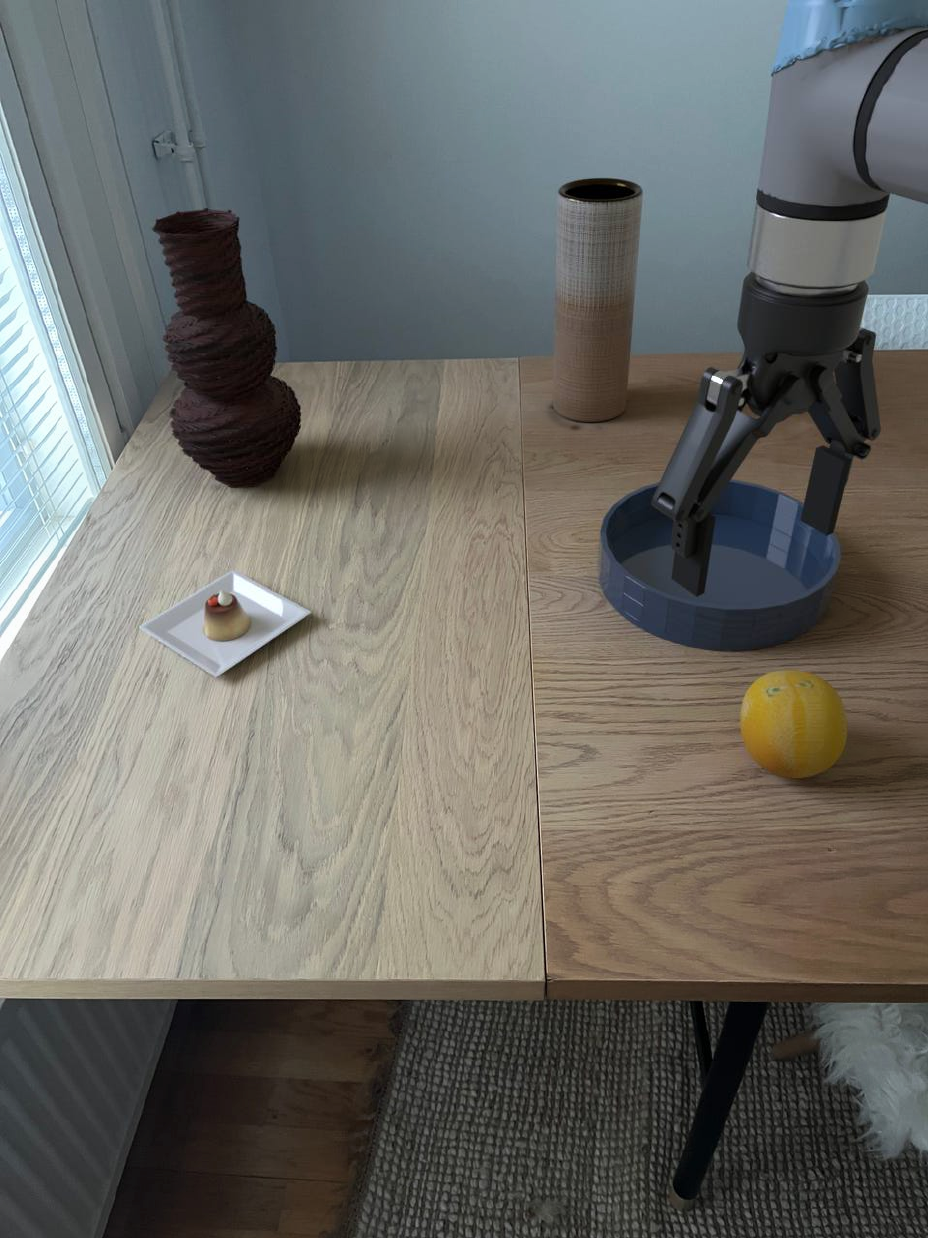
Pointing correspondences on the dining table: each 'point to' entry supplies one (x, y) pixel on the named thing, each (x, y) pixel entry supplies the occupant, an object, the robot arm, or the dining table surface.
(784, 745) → the fruit
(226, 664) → the dessert
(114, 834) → the dining table surface
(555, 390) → the tall ceramic vase
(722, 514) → the bowl
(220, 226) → the vase
